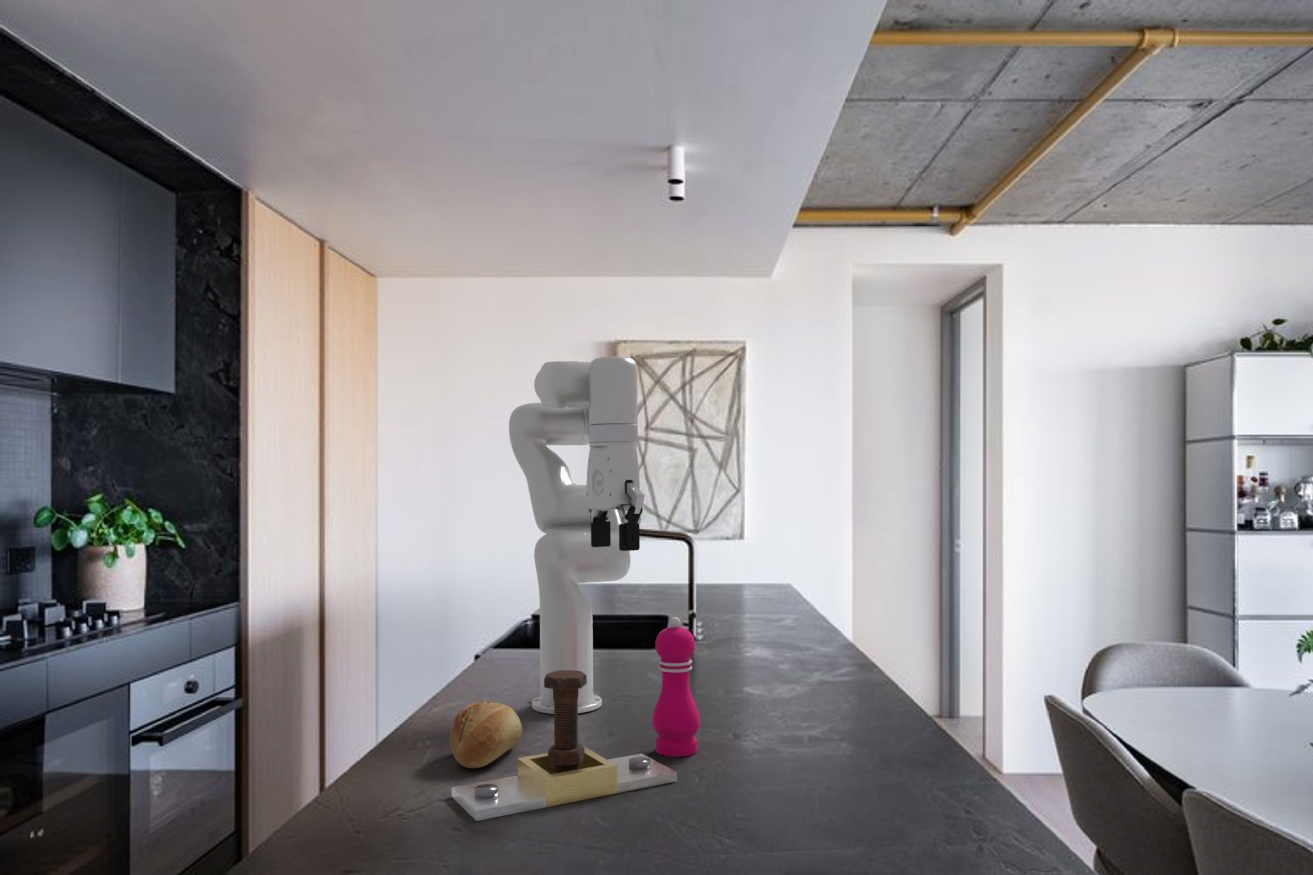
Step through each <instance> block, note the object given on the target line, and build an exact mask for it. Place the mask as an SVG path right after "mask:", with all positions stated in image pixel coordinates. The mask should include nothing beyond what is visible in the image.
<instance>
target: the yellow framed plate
mask: <svg viewBox="0 0 1313 875" xmlns="http://www.w3.org/2000/svg"><path fill="white" fill-rule="evenodd" d="M583 747H584V758H583V760H582V762H581V763H579V764H578V768H579V769H578V770H573V771H568V772H562V773H557V774H555V769H554V768H555V766H554V764H552V763H550V762H549V761H548V752H546V753H540V754H533V755H528V756H523V757H522V756H521V757H518V758H516V760H517V763H516V764H517V766H516V767H517V768H516V769H517V772H516V773H517V775H514V776H513V775H512V776H507V777H502V778H496V779H491V780H485V781H480V782H479V781H478V782H473V783H468V784H463V785H457V786H452V787H451V798H452V799H454V801H455V802H456V803H457V804H459V806H460V807H461V808H462V809H464V810H465V812H466V813H467V814H468V815H469V816H470V817H471V818H473V820H474V821H475V822H478V821H483V820H489V819H492V818H498V817H503V816H508V815H513V814H518V813H524V812H528V811H533V810H539V809H543V808H549V807H554V806H558V805H564V804H570V803H574V802H579V801H585V800H588V799H594V798H598V797H599V798H600V797H605V796H609V795H614V794H621V793H624V792H628V791H629V792H630V791H634V790H639V789H645V788H650V787H655V786H660V785H661V786H662V785H665V784H670V783H676V782H678V772H677V771H676V770H673V769H671V768H670V767H668V766H667V765H664V764H662V763H660V762H658V761H656V760H655V759H653V758H651V757H649V756H648V755H645V754H644V753H638V754H632V755H626V756H621V757H620V756H619V757H614V758H609V759H606V758H605V757H603V756H601V755H599V754H598V753H596V752H595V751H592V749H590V748H588V747H586V746H583Z"/></svg>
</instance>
